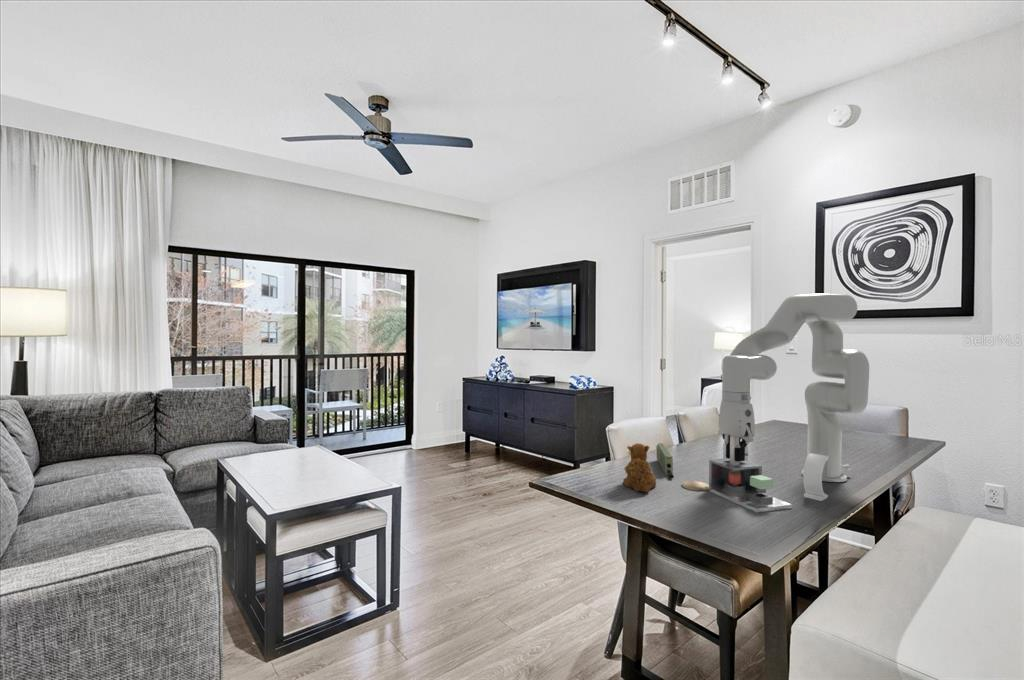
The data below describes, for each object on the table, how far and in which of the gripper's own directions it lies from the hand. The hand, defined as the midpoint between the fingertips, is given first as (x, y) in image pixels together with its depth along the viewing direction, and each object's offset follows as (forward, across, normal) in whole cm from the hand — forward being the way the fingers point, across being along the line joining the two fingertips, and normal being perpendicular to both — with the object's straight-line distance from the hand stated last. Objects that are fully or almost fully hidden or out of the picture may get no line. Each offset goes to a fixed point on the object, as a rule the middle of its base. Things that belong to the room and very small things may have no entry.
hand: (735, 458), depth 144 cm
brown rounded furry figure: (+10, +12, +24) cm, 29 cm away
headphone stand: (+10, -10, -20) cm, 24 cm away
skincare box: (+11, +26, -24) cm, 37 cm away
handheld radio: (+11, +28, +4) cm, 30 cm away
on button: (+7, -10, 0) cm, 12 cm away
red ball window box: (+10, -4, 0) cm, 11 cm away
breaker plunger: (+8, 0, 0) cm, 8 cm away
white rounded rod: (+4, 0, 0) cm, 4 cm away
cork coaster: (+10, +8, +7) cm, 15 cm away
